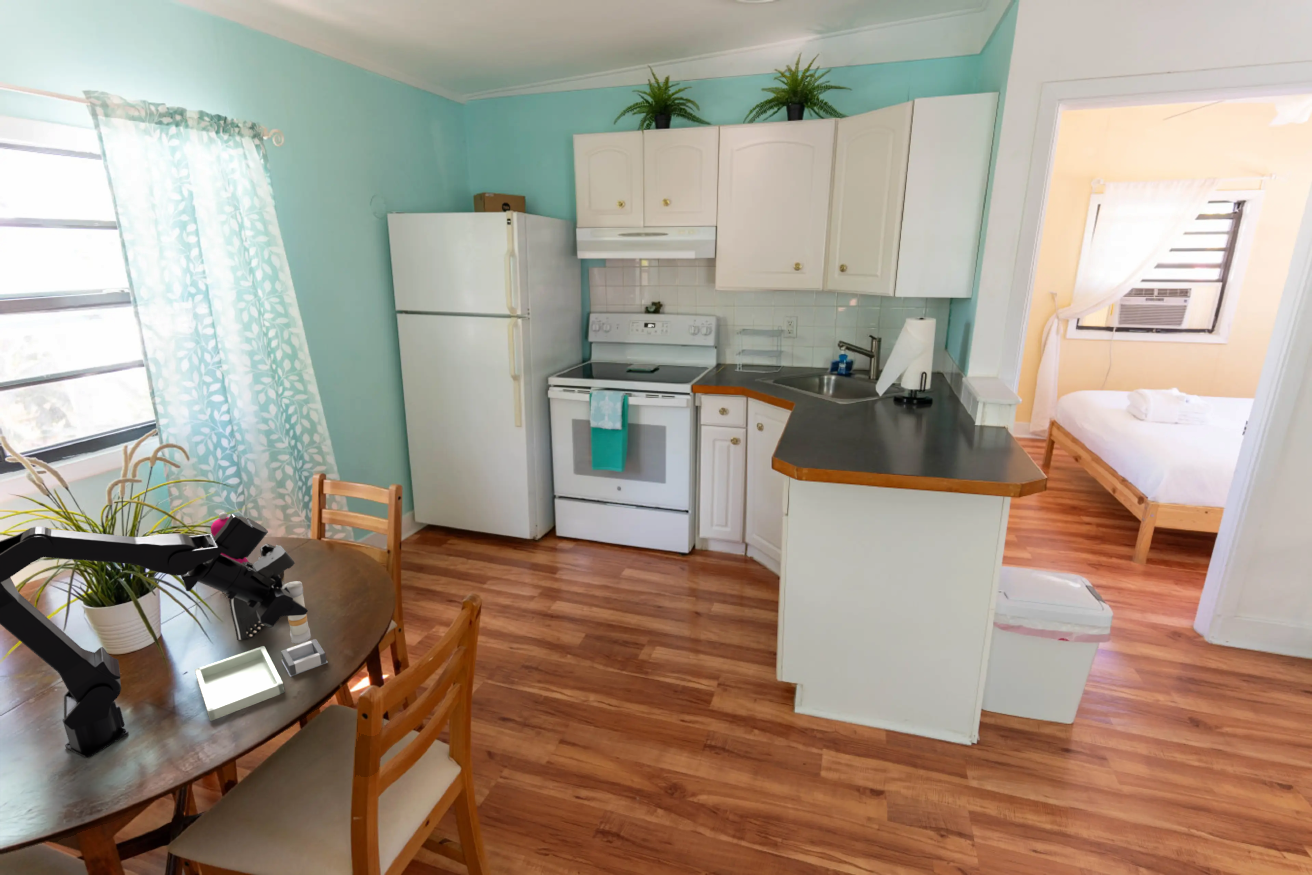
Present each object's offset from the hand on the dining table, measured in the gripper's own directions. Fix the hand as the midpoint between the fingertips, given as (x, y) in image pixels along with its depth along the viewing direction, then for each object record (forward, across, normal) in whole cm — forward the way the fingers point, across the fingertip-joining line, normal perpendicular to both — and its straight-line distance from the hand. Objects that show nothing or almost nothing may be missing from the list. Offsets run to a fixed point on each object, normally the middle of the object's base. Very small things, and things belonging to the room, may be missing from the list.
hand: (304, 608), depth 131 cm
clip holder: (+8, 0, +10) cm, 13 cm away
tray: (0, 0, +18) cm, 18 cm away
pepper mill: (+5, +46, +13) cm, 48 cm away
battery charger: (+4, +19, +14) cm, 24 cm away
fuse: (+4, 0, +5) cm, 6 cm away
